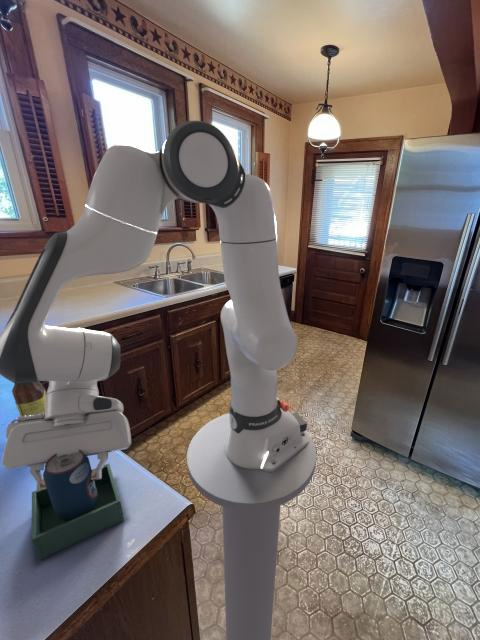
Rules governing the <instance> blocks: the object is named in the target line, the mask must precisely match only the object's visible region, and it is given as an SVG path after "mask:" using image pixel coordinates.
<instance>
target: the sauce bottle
mask: <svg viewBox="0 0 480 640" xmlns="http://www.w3.org/2000/svg"><path fill="white" fill-rule="evenodd" d="M11 392H12V396H13V399H14V403H15V405H16V406H15V407H16V408H17V411H18V413H19V417H20V416H29V415H34V414H40V413H45V400H46V392H47V390H46V389H45V387H44V386H43V385H42V383H41V381H38V382H28V383H13V387H12V390H11ZM30 421H31V420H30Z"/></svg>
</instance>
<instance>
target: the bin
mask: <svg viewBox="0 0 480 640" xmlns="http://www.w3.org/2000/svg"><path fill="white" fill-rule="evenodd" d="M92 470H96V467H95V468H93V469H92ZM112 471H113V470H112V468H111V465H110V463H107V464H106V463H105V465H104V467H103V468H102V478H101V479H98V480H94V482H95V486H96V490H97V494H98V499H97V502H96V504H95V506H94V508H93V509H92V510H91V512H89V513H87V514H85V515H82V516H80V517H78V518H76V519H73V520H71V521H65V520H62V519H59V518H58V517H57V516H56V515H55V512H54V509H53V506H52V503H51V499H50V496H49V493H48V490H43V491H38V492H37V489H36V490H33V491H31V541H32V542H31V543H32V544H33V547H34V549H35V552H36V554H37V557H38V559H39V561H41V560H43V559H45V558H47V557H49V556H51V555H54V554H56V553H58V552H61V551H62V550H64V549H66V548H68V547H71V546H72V545H75V544H77V543H79V542H81V541H83V540H85V539H88V538H90V537H91V536H93V535H95V534H98V533H100V532H102V531H104V530H106V529H109V528H110V527H114V526H115V525H116V524H119V523H121V522H123V521H125V516H124V512H123V507H122V501H121V499H120V495H119V492H118V488H117V485H116V482H115V478H114V475H113V472H112Z"/></svg>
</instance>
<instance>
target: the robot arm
mask: <svg viewBox="0 0 480 640" xmlns="http://www.w3.org/2000/svg"><path fill="white" fill-rule="evenodd" d="M175 200H176V201H177V200H178V201H184V202H189V203H192V204H205V205H208V206H210V208H211V209H212V210H213V212H214V214H215V217H216V221H217V223H218V233H219V235H218V236H219V243H220V253H221V262H222V272H223V278H224V279H223V280H224V284H225V286H226V289H227V291H228V293H229V297H230V299H229V300H227V302H226V303H225V304H224V305H223V307H222V308H221V311H220V323H221V327H222V330H223V337H224V344H225V351H226V352H225V353H226V357H227V362H228V363H227V364H228V367H229V368H228V369H229V375H230V401H229V411H228V413H229V419H230V433H229V438H228V441H227V444H226V447H225V452H226V455H227V457H228V459H229V460H230V461H231V462H232V463H234V464H235V465H237V466H240V467H243V468H248V469H261V470H264V471H267V472H273V471H275V470H276V469H277V468H279V467H280V466H281V465H282V464H284V463H285V462H286V461H287V460H289V459H290V458H291V457H293V456H294V455H295V454H296V453H298V452H299V451H300V450H301V449H303V448H304V447H305V446H306V445H307V444H308V437H307V435H306V433H305V432H304V431H307V430H308V429H307V427H308V423H307V422H306V421H305V419H303V417H302V416H301V415H300V414H299V413H298V412H295V413H291V412H290V411H289V410H290V408H291V406H290V404H289V403H287V402H286V401H281V398H279V397H278V381H279V378H278V372H277V371H278V370H281V369H283V368H285V367H286V366H288V365H289V364H290V363H291V362H292V361H293V360H294V358H295V357H296V354H297V353H298V349H299V339H298V336H297V334H296V332H295V329H294V328H293V326H292V324H291V321H290V318H289V314H288V310H287V306H286V302H285V298H284V294H283V291H282V290H283V289H282V287H281V280H280V276H279V275H280V274H279V273H280V272H279V257H278V256H279V253H278V234H277V221H276V220H277V219H276V215H275V208H274V202H273V197H272V192H271V189H270V187H269V185H268V183H267V182H266V181H265V180H264V179H263V178H261V177H260V176H257V175H254V174H250V173H246V170H245V168H244V166H243V165H242V163H241V161H240V159H239V158H238V156H237V154H236V152H235V149H234V148H233V146H232V144H231V143H230V141H229V139H228V138H227V136H226V135H225V134H224V133H223V132H222V131H221V130H220V129H219V128H218V127H216V126H215V125H213V124H211V123H209V122H206V121H202V120H188V121H184V122H182V123H180V124H177V126H175V127H174V128H173V129H172V130H171V131H170V132H169V134H168V135H167V136H166V139H165V141H164V143H163V145H162V147H161V148H160V149H159V150H157V151H155V152H149V151H145V150H144V149H142V148H140V147H137V146H135V145H130V144H114V145H112V146H110V147H109V148H107V150H106V151H105V152H104V154H103V156H102V158H101V160H100V162H99V163H98V166H97V168H96V170H95V173H94V175H93V178H92V180H91V183H90V186H89V190H88V193H87V196H86V200H85V205H84V208H83V211H82V213H81V216H80V217H79V219H78V220H77V221H76V223H74V225H72V227H71V228H69V229H68V230H67V231H59V232H55V233H54V234H53V235H52V236H50V238H49V239H48V241H47V242H46V243H45V245H44V247H43V249H42V250H41V252H40V254H39V256H38V258H37V260H36V262H35V264H34V265H33V268H32V270H31V272H30V275H29V277H28V278H27V281H26V283H25V285H24V287H23V290H22V292H21V293H20V296H19V298H18V301H17V302H16V305H15V307H14V309H13V310H12V314H11V315H10V317H9V319H8V321H7V322H6V325H5V326H4V328H3V329H2V331H1V332H0V376H2V377H3V378H4V379H6V380H8V381H9V382H11V383H12V384H15V383H28V382H38V381H39V382H48V386H47V387H48V388H47V390H46V400H45V413H40V414H34V415H29V416H20V415H19V416H17V417H16V418H15V419H13V420H12V421H10V422H8V424H7V426H6V432H5V433H6V435H5V437H6V442H5V445H4V449H3V453H2V459H1V465H2V466H3V467H4V468H6V469H7V470H14V469H15V470H16V469H17V470H18V469H22V468H29V473H30V474H31V476H32V478H34V480H35V481H36V490H37V492H38V491H43V490H47V487H46V484H45V481H44V478H43V472H42V471H44V470H45V464H46V462H47V461H48V459H49V458H51V457H52V456H53V455H55V454H56V453H57V455H56V456H61V455H63V456H64V454H68V455H69V454H71V453H76V452H79V450H81V451H82V452H83V454H84V455H86V456H87V457H91V456H94V455H96V456H97V460H99V462H98V464H97V466H96V467H95V468H96V470H93V469H91V477H90V479H91V481H93V480H98V479H101V478H102V468H103V467H104V465H106V463H107V461H108V459H109V453H112V452H113V453H114V452H119V451H124V450H128V449H129V448H130V446H131V445H132V433H131V428H130V427H131V426H130V423H129V419H128V418H127V417H126V415H125V414H124V409H125V407H124V404H123V402H122V401H121V400H119V399H117V398H113V397H108V396H101V395H100V391H99V387H98V382H102V381H106V380H108V379H109V378H111V377H112V376H113V375H115V374H116V373H117V372H118V371H119V370H120V367H121V362H122V356H121V355H122V353H121V351H122V350H121V345H120V343H119V342H118V340H117V339H116V338H115V337H114V336H113V334H111V333H110V332H105V331H100V330H92V329H87V328H83V327H63V326H54V325H47V324H45V323H46V321H47V319H48V317H49V315H50V313H51V311H52V308H53V306H54V304H55V303H56V301H57V298H58V296H59V293H60V292H61V290H62V289H63V288H64V287H65V286H66V285H68V283H70V282H72V281H74V280H77V279H81V278H84V277H85V278H86V277H91V276H98V275H99V276H100V275H112V274H121V273H124V272H128V271H132V270H134V269H136V268H138V267H139V266H141V265H143V264H144V263H145V262H146V261H147V260H148V258H149V257H150V255H151V253H152V251H153V248H154V246H155V242H156V239H157V235H158V233H159V230H160V226H161V222H162V220H163V219H162V218H163V216H164V213H165V212H166V209H167V207H168V206H169V205H170V204H171V203H172V202H173V201H175ZM30 420H31V421H30ZM273 464H275V465H273Z"/></svg>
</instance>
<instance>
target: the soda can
mask: <svg viewBox="0 0 480 640" xmlns="http://www.w3.org/2000/svg"><path fill="white" fill-rule="evenodd" d="M56 455H57V453H56V454H55V455H53V456H52V457H51V458H49V459H48V461H47V462H46V463H45V464H44V470H43V472H42V475H43V478H44V481H45V484H46V487H47V490H48V493H49V496H50V499H51V503H52V506H53V509H54V512H55V515H56V516H57V517H58V518H59V519H62V520H65V521H71V520H73V519H76V518H78V517H80V516H82V515H85V514H87V513H89V512H91V510H92V509H93V508H94V506H95V504H96V502H97V499H98V494H97V490H96V486H95V482H94V480H93V481H91V479H90V477H91V470H92V467H91V462H90V458H89V456H86V455H84V454H83V452H82V451H81V450H79V452H76V453H71V454H69V455H68V454H64V456H63V455H61V456H56Z"/></svg>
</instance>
